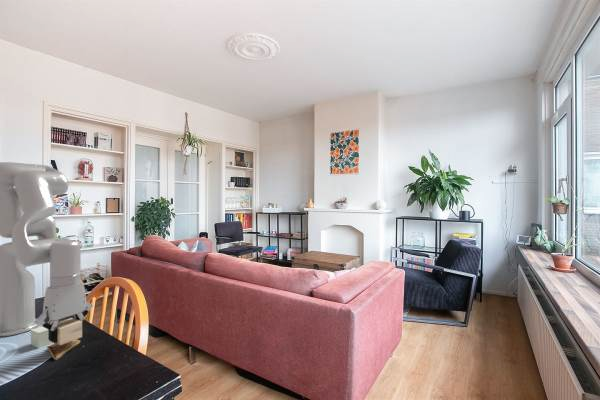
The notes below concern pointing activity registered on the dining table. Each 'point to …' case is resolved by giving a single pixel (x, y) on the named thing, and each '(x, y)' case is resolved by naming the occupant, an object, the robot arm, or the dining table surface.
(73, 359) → the dining table surface
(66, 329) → the beige metal block
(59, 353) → the shard
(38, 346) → the sage block
